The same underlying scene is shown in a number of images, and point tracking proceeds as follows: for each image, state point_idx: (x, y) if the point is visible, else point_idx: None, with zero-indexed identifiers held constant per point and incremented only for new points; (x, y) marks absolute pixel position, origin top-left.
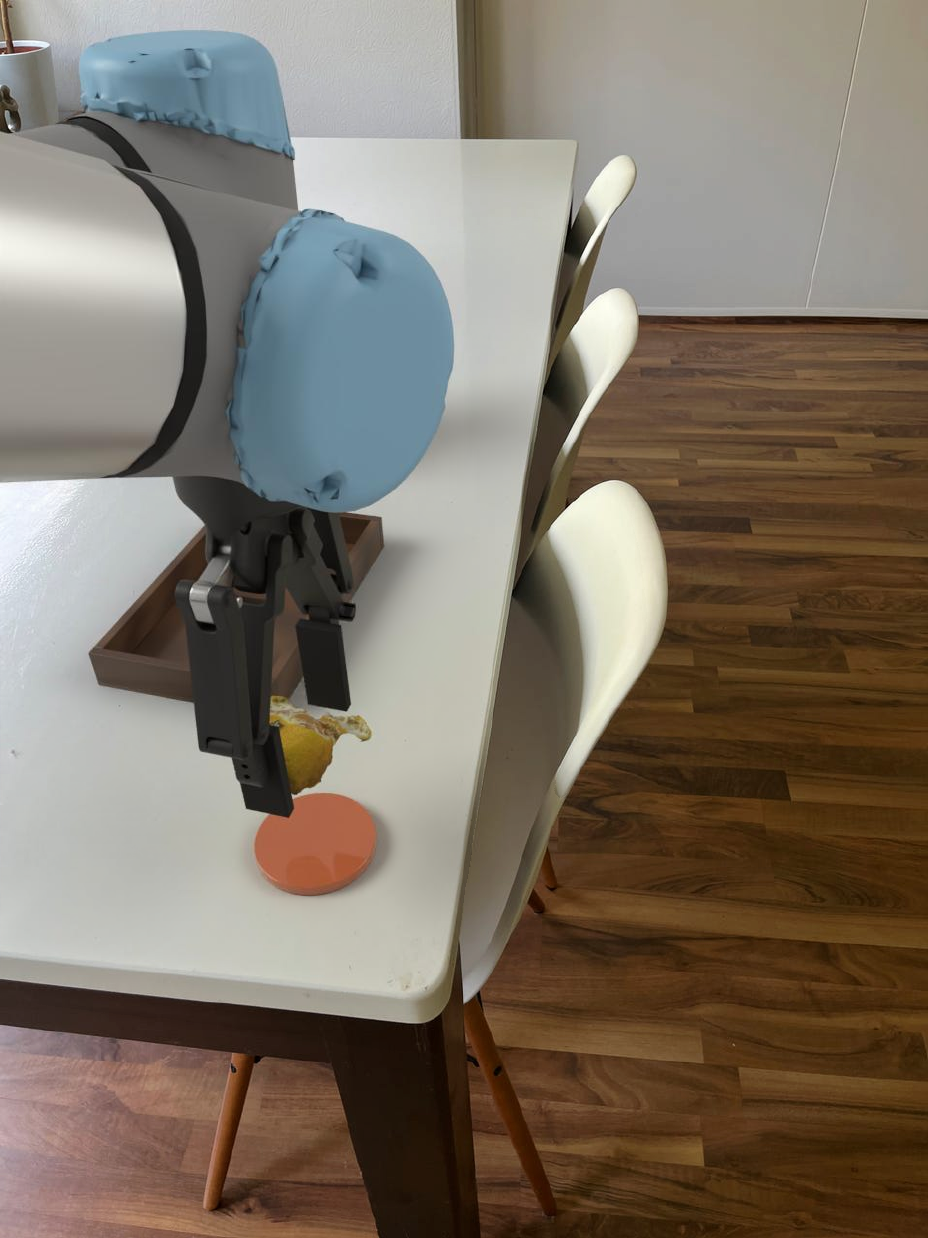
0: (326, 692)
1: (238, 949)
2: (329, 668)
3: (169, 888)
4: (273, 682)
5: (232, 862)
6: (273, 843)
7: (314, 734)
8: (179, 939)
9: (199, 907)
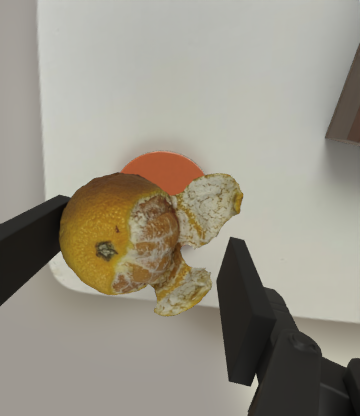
0: (225, 273)
1: (63, 156)
2: (226, 306)
3: (112, 82)
4: (353, 141)
5: (143, 132)
6: (154, 168)
7: (106, 293)
8: (65, 106)
9: (96, 115)
